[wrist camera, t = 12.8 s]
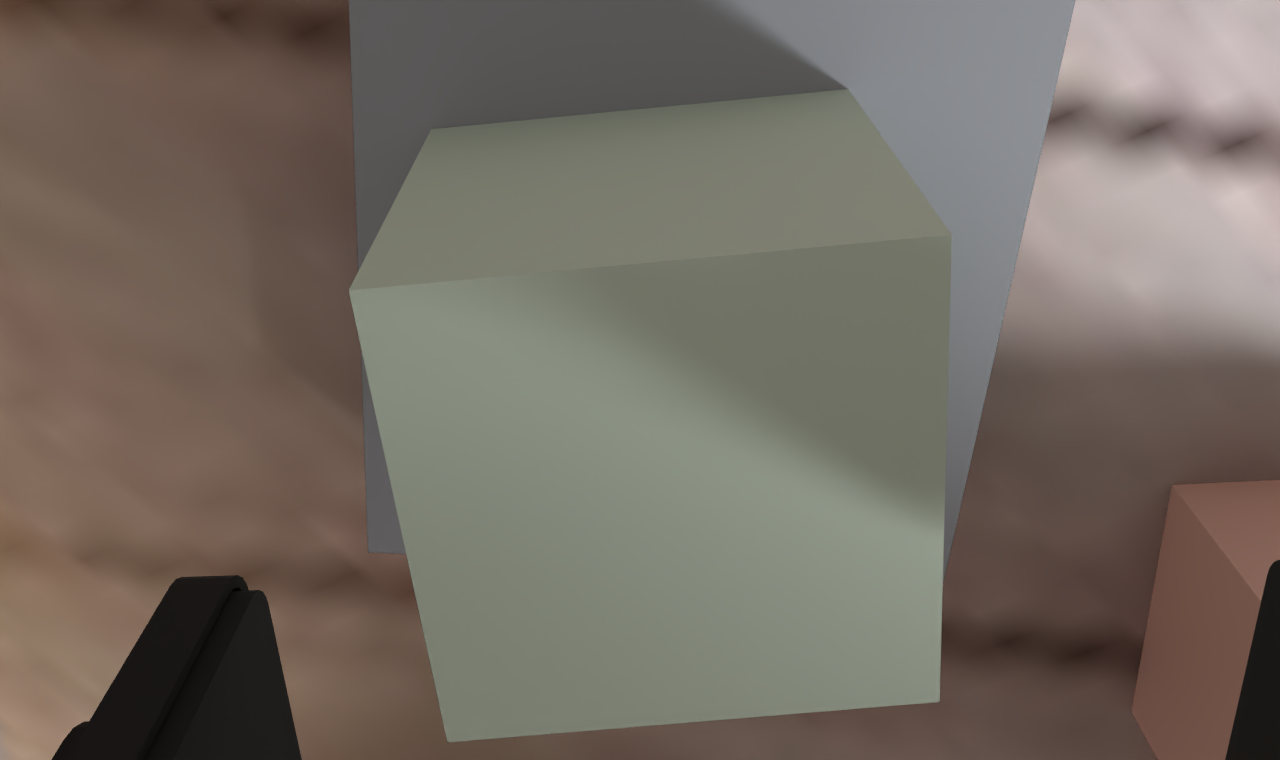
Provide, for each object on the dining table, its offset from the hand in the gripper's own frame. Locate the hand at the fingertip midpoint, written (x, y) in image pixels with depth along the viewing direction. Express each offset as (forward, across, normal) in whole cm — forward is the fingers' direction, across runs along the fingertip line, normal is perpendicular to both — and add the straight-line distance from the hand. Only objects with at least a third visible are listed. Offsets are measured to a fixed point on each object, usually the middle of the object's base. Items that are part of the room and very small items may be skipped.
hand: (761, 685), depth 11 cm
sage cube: (+8, +1, 0) cm, 8 cm away
